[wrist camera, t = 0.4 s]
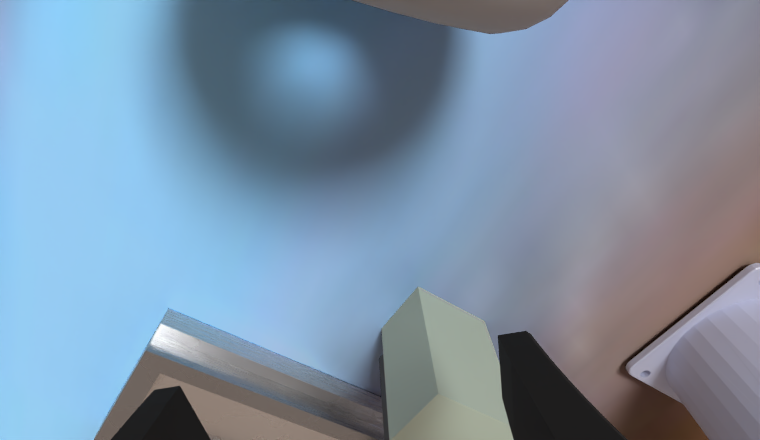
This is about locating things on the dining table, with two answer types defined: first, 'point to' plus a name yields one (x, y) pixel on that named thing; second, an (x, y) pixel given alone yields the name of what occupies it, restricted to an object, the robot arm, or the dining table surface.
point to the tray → (244, 389)
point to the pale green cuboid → (440, 374)
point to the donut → (474, 12)
